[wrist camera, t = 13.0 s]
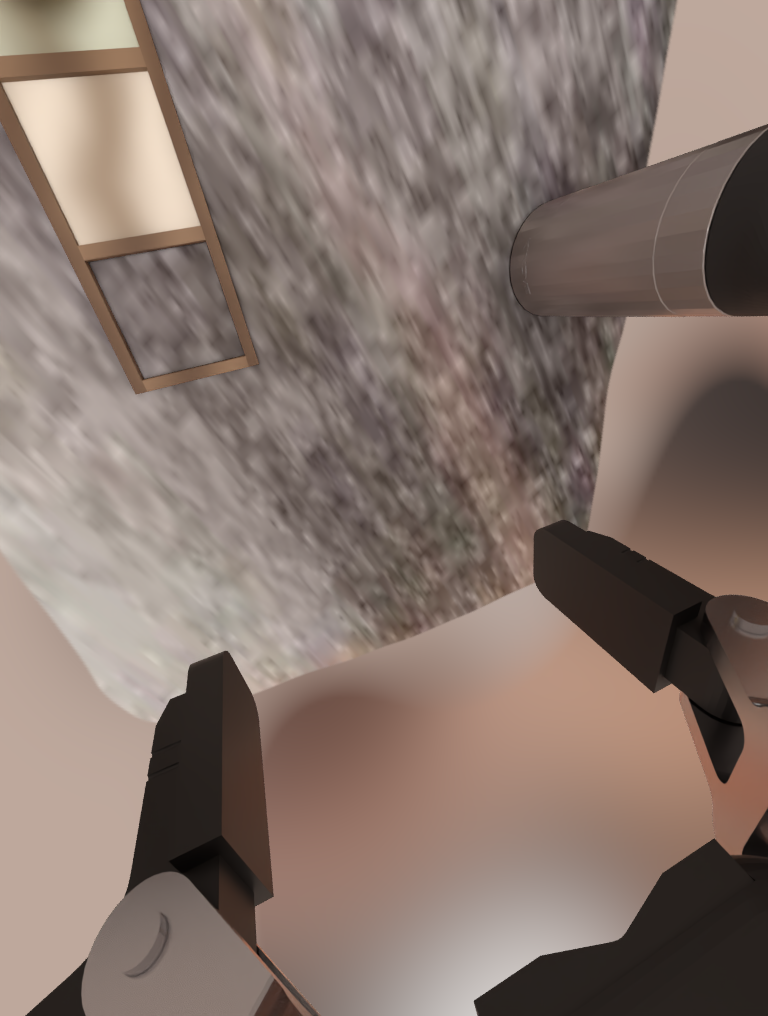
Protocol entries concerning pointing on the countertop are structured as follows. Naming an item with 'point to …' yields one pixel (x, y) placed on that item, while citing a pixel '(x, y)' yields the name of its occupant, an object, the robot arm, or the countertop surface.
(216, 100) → the countertop surface
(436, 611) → the countertop surface
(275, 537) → the countertop surface
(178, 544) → the countertop surface
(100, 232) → the board
